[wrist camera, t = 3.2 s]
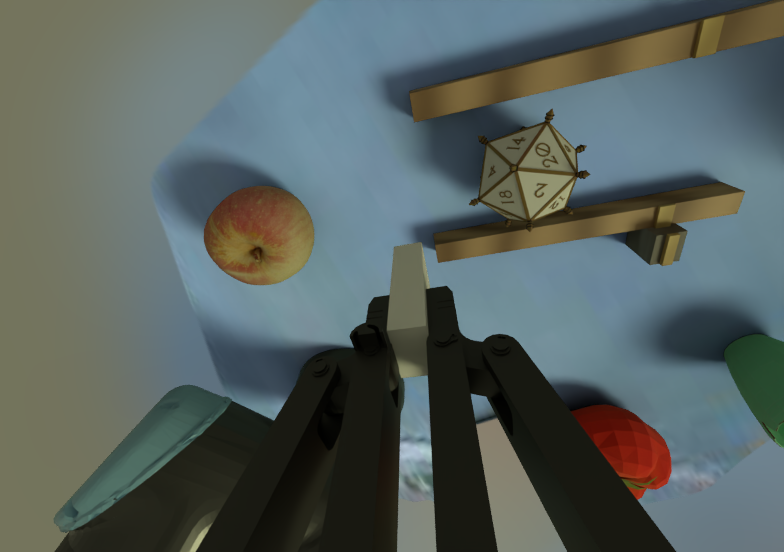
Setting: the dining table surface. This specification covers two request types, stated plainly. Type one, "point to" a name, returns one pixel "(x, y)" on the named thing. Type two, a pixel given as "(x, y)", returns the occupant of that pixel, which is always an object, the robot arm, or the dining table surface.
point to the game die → (529, 173)
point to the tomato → (628, 446)
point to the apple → (260, 235)
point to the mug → (760, 379)
